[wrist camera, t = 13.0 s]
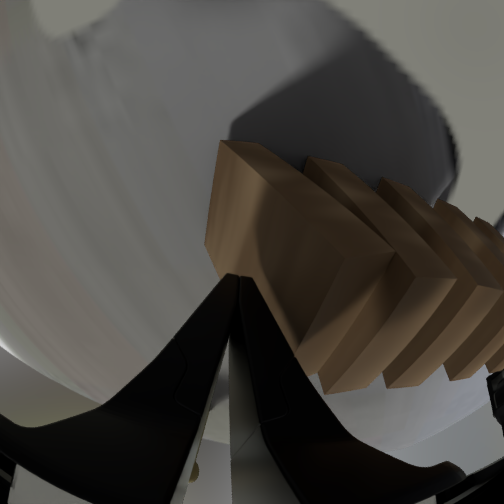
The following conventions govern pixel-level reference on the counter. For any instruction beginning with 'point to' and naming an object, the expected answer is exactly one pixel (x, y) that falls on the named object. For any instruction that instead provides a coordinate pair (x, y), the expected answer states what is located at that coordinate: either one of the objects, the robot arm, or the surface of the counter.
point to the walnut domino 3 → (455, 302)
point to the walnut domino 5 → (500, 358)
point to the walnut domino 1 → (292, 248)
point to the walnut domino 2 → (380, 284)
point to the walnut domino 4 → (500, 315)
